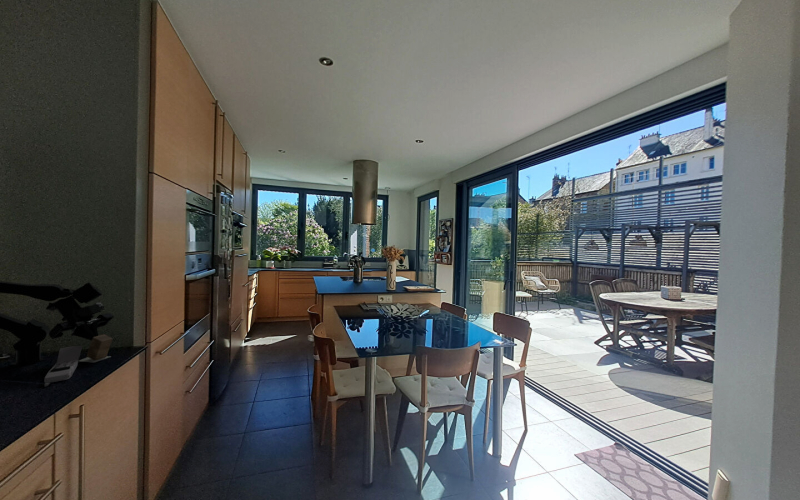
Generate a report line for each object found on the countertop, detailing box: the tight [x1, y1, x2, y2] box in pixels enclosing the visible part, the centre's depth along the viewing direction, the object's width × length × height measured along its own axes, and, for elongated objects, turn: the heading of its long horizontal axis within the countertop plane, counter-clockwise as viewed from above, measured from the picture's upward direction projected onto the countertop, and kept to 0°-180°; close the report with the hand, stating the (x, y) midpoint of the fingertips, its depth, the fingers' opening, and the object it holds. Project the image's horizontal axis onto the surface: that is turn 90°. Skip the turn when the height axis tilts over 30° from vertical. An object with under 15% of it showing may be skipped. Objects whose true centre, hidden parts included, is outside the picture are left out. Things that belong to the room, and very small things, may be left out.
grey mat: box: [78, 355, 112, 363], centre depth 117 cm, size 8×6×1 cm
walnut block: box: [86, 333, 113, 360], centre depth 118 cm, size 4×4×8 cm
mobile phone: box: [43, 344, 83, 388], centre depth 106 cm, size 6×6×25 cm
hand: (97, 340), depth 118 cm, fingers closed
